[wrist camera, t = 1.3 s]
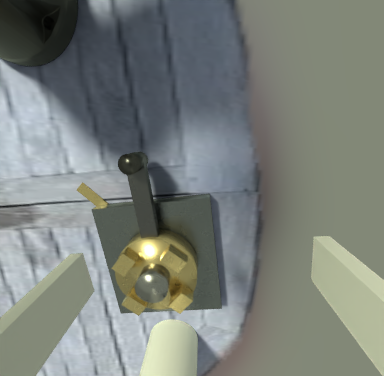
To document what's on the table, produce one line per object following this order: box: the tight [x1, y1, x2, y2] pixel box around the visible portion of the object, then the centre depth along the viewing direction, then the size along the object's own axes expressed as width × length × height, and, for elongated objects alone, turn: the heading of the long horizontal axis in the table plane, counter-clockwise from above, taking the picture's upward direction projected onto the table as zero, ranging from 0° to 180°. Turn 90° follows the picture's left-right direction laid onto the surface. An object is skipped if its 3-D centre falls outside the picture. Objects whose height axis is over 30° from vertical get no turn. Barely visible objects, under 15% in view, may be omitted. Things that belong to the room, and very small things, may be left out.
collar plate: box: [77, 183, 222, 313], centre depth 31 cm, size 24×21×2 cm
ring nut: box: [111, 152, 198, 316], centre depth 26 cm, size 24×12×5 cm, turn 7°
